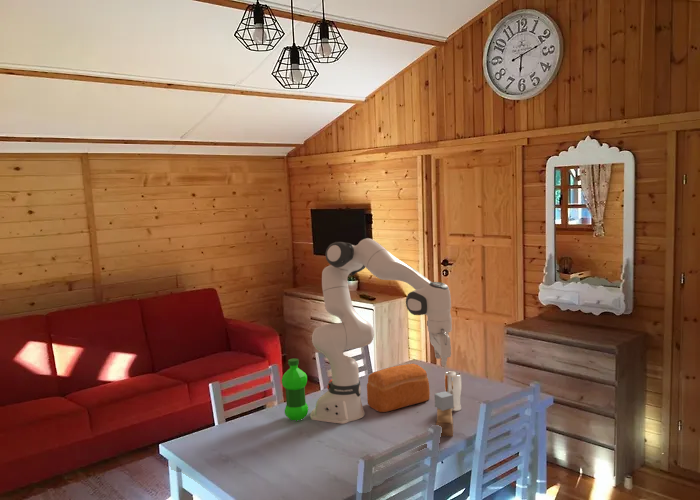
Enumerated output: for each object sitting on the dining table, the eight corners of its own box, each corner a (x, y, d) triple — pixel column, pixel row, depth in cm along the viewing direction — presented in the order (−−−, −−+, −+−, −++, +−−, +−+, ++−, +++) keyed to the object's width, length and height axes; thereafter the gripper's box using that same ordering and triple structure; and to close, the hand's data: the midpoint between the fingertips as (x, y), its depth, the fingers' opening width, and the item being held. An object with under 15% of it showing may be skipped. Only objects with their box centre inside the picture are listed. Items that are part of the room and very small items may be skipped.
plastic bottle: (304, 424, 238) (300, 364, 235) (280, 422, 242) (276, 363, 239) (313, 415, 248) (309, 356, 245) (290, 413, 251) (286, 355, 248)
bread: (433, 400, 257) (431, 365, 255) (381, 414, 245) (380, 377, 243) (414, 391, 269) (413, 357, 267) (364, 404, 257) (363, 369, 255)
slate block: (434, 406, 224) (434, 393, 224) (445, 403, 226) (445, 391, 226) (442, 410, 220) (441, 397, 219) (453, 408, 222) (453, 395, 221)
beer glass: (443, 410, 245) (441, 375, 244) (448, 404, 251) (447, 370, 250) (459, 412, 242) (458, 377, 240) (464, 406, 248) (463, 371, 247)
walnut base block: (436, 436, 222) (436, 423, 221) (437, 429, 227) (437, 416, 227) (452, 436, 220) (452, 423, 220) (453, 430, 226) (453, 417, 225)
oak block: (437, 422, 222) (437, 409, 221) (438, 417, 226) (438, 404, 226) (451, 423, 220) (450, 410, 220) (452, 417, 225) (451, 405, 225)
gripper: (455, 332, 211) (456, 370, 212) (441, 319, 231) (442, 353, 233) (437, 333, 210) (438, 371, 212) (425, 320, 230) (427, 354, 232)
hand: (440, 362), depth 222 cm, fingers open, 8 cm apart
